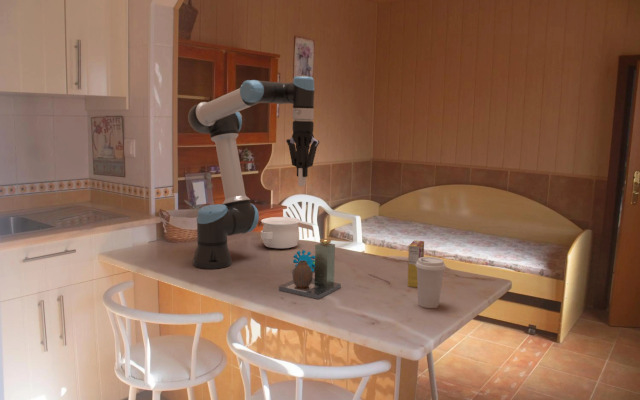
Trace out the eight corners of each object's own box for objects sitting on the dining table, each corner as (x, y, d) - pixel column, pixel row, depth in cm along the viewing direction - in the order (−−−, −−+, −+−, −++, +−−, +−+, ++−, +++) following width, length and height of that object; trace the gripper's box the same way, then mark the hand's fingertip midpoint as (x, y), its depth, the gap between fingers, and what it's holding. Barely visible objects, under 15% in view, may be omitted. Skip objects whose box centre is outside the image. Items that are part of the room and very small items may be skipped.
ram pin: (317, 270, 192) (317, 240, 191) (322, 267, 196) (323, 238, 194) (326, 272, 190) (327, 241, 189) (331, 269, 194) (332, 239, 192)
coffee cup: (410, 299, 183) (412, 256, 181) (438, 299, 184) (440, 256, 181) (417, 310, 174) (420, 264, 171) (447, 309, 174) (450, 264, 172)
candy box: (411, 279, 206) (413, 239, 203) (423, 281, 204) (425, 241, 202) (406, 286, 198) (408, 244, 195) (418, 287, 196) (420, 246, 194)
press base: (278, 290, 189) (279, 246, 187) (302, 279, 202) (303, 238, 200) (318, 299, 181) (319, 253, 179) (340, 287, 194) (341, 244, 192)
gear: (295, 270, 208) (292, 248, 214) (290, 278, 212) (287, 256, 218) (322, 272, 212) (318, 250, 218) (317, 279, 216) (313, 257, 222)
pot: (278, 254, 238) (278, 226, 236) (249, 247, 248) (249, 221, 246) (310, 245, 255) (310, 219, 253) (282, 239, 266) (282, 215, 264)
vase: (305, 290, 184) (305, 265, 183) (288, 286, 188) (288, 261, 187) (316, 285, 190) (316, 260, 189) (299, 281, 194) (300, 257, 192)
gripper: (282, 120, 197) (281, 185, 201) (313, 121, 191) (311, 188, 194) (293, 120, 204) (292, 183, 207) (324, 121, 197) (322, 186, 201)
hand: (301, 185), depth 201 cm, fingers closed
